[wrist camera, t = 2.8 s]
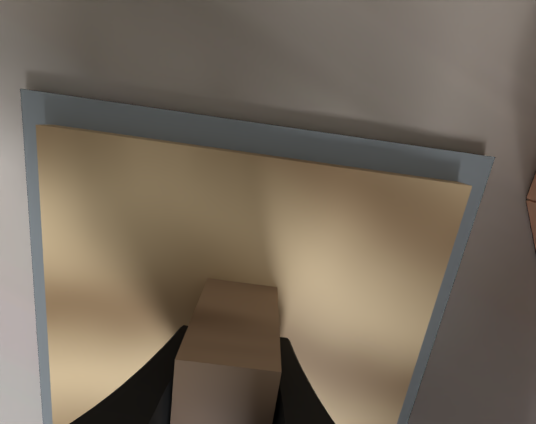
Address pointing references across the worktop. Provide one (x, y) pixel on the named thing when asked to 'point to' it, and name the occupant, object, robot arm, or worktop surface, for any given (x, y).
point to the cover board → (236, 274)
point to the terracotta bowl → (532, 207)
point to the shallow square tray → (254, 141)
